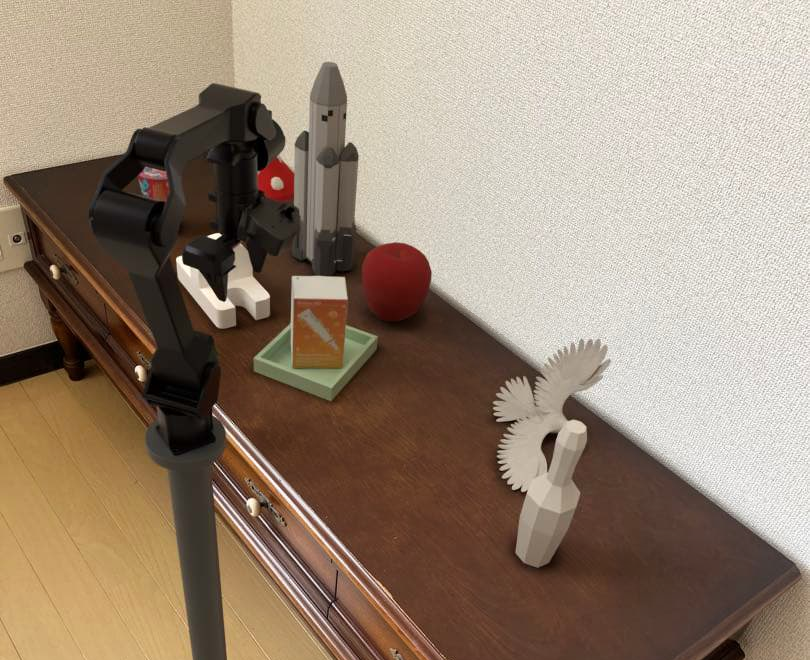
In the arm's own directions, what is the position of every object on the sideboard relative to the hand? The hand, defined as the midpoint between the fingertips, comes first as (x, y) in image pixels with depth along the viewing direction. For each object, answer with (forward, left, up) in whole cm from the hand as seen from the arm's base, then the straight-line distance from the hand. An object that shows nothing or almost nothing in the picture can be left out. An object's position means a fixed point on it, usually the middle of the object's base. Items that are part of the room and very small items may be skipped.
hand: (240, 286), depth 120 cm
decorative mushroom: (+24, +37, -13) cm, 46 cm away
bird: (+26, -38, -13) cm, 48 cm away
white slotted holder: (+5, +17, -13) cm, 22 cm away
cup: (+5, +42, -13) cm, 44 cm away
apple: (+28, -1, -13) cm, 31 cm away
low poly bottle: (+14, -54, -13) cm, 57 cm away
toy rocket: (+26, +19, -13) cm, 35 cm away
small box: (+10, -6, -13) cm, 17 cm away
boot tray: (+10, -6, -13) cm, 17 cm away
